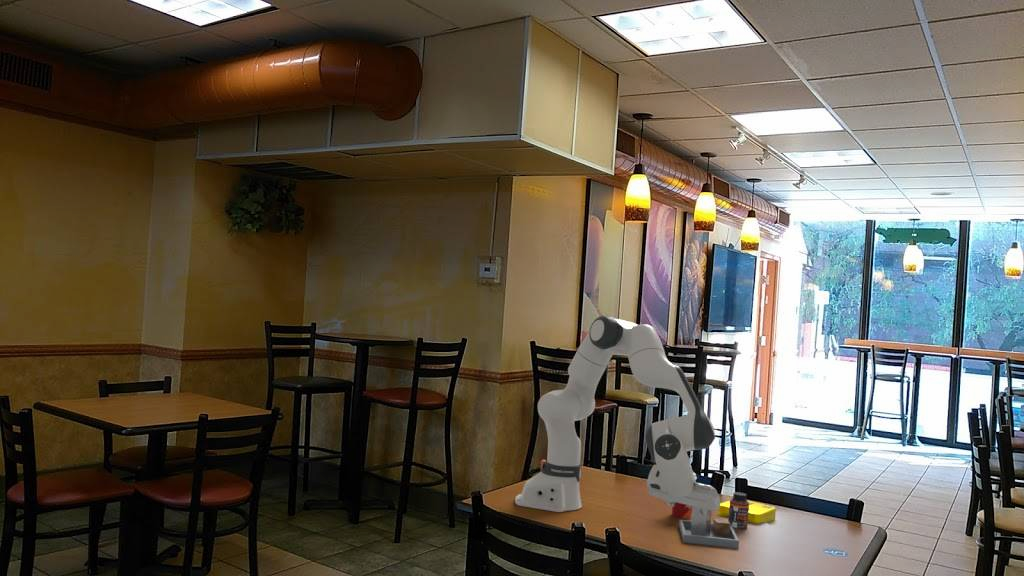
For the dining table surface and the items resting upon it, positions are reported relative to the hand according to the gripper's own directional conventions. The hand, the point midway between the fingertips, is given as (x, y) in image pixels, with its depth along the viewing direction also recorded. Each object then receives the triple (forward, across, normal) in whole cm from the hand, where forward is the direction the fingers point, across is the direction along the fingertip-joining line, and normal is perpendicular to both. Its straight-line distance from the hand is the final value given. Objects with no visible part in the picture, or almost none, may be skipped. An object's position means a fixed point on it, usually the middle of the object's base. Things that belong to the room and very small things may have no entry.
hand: (687, 508), depth 214 cm
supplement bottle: (+30, -7, -13) cm, 33 cm away
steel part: (+16, 0, -1) cm, 16 cm away
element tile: (+42, -5, -25) cm, 49 cm away
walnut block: (+20, -5, -6) cm, 22 cm away
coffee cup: (+29, +11, -12) cm, 33 cm away
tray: (+17, -3, -1) cm, 17 cm away
